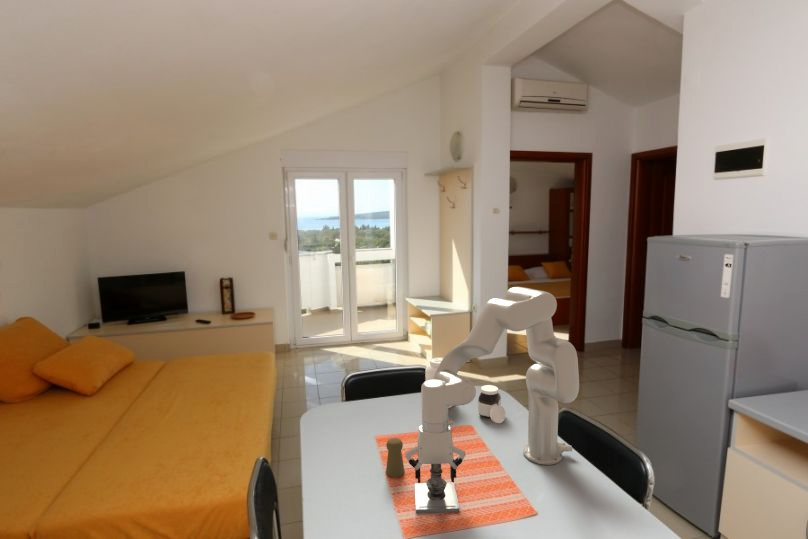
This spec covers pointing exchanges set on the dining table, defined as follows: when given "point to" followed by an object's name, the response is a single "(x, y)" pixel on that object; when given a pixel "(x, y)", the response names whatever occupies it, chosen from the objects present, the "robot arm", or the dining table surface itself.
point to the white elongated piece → (433, 368)
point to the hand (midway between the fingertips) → (435, 480)
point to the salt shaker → (436, 483)
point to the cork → (394, 458)
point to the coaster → (429, 505)
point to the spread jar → (491, 404)
